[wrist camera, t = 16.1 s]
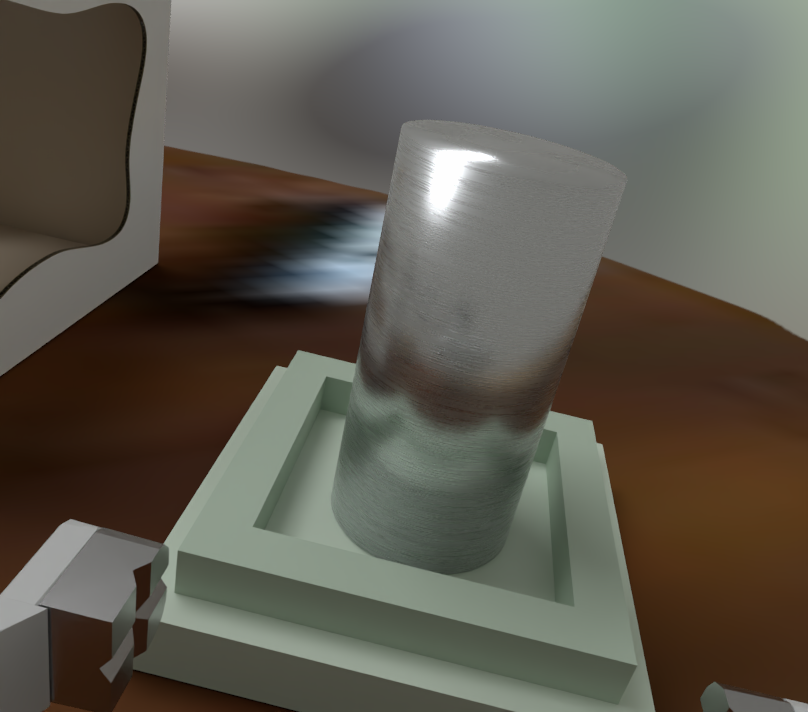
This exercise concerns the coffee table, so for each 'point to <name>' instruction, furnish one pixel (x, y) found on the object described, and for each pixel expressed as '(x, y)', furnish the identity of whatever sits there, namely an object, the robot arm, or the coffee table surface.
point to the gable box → (77, 159)
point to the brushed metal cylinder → (466, 337)
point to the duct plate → (393, 582)
